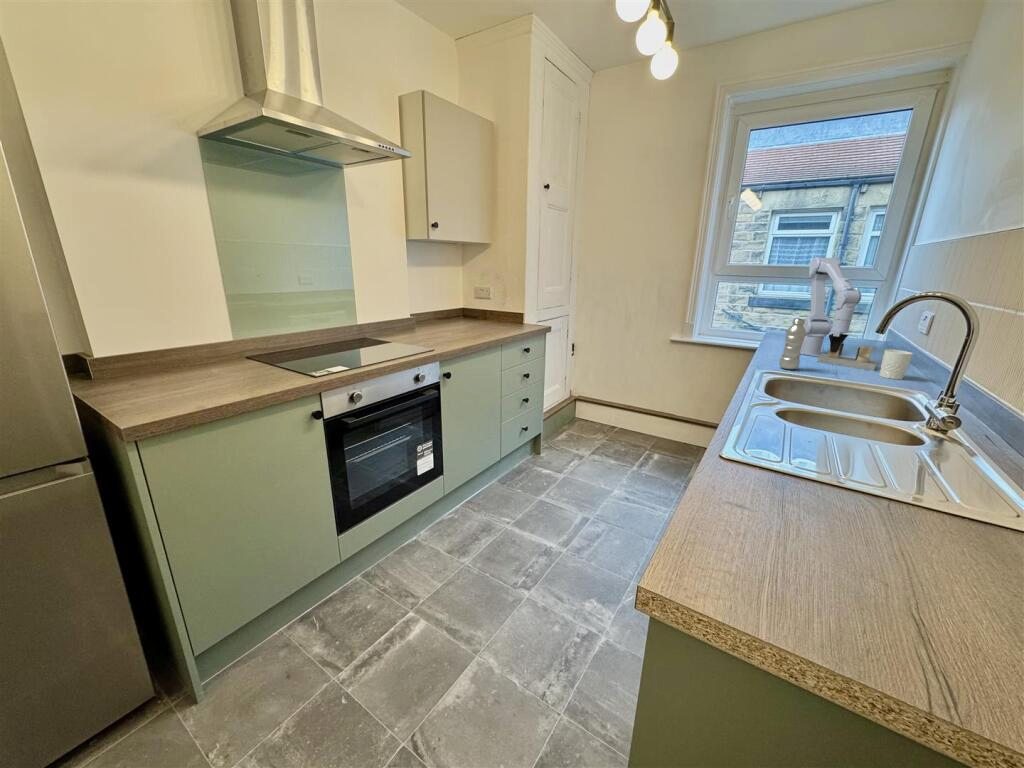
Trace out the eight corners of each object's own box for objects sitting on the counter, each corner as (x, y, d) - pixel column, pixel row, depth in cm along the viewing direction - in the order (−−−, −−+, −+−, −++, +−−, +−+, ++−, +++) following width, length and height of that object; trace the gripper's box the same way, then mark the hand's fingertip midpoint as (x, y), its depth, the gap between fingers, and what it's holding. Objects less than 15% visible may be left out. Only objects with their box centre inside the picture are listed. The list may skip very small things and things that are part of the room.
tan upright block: (867, 363, 169) (872, 347, 167) (866, 365, 167) (871, 348, 165) (855, 362, 172) (859, 345, 170) (854, 363, 169) (858, 346, 167)
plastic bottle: (801, 371, 160) (814, 320, 154) (784, 370, 160) (796, 319, 154) (791, 367, 166) (802, 318, 160) (774, 366, 166) (785, 317, 161)
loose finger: (826, 357, 175) (831, 341, 173) (828, 356, 178) (832, 340, 176) (838, 359, 173) (843, 343, 171) (840, 358, 175) (844, 342, 173)
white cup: (872, 375, 157) (880, 350, 154) (883, 373, 160) (891, 348, 157) (898, 381, 150) (906, 354, 147) (909, 379, 154) (917, 353, 151)
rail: (816, 362, 177) (818, 356, 176) (820, 359, 182) (821, 353, 181) (873, 371, 164) (875, 364, 163) (875, 367, 169) (877, 361, 168)
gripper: (852, 322, 163) (843, 355, 167) (857, 319, 173) (848, 350, 177) (830, 320, 168) (822, 352, 172) (836, 317, 178) (828, 347, 182)
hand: (834, 351), depth 175 cm, fingers closed on loose finger, 4 cm apart
